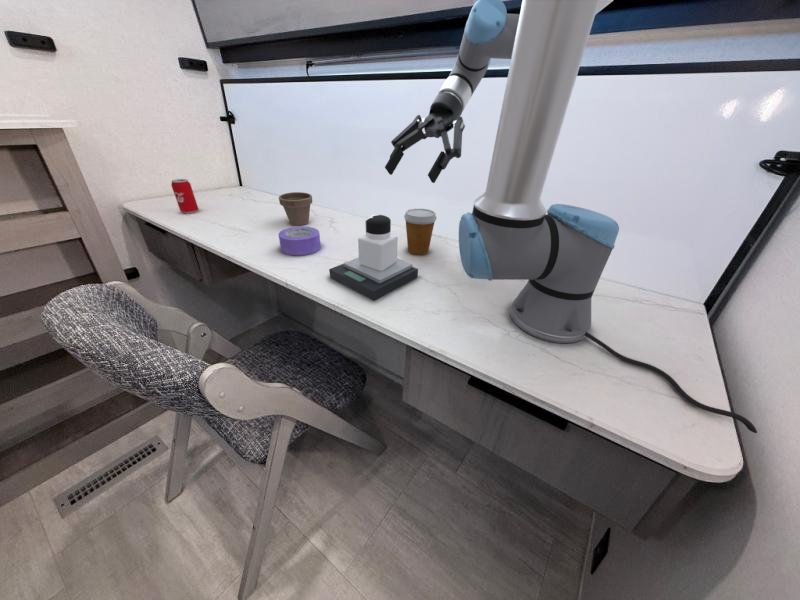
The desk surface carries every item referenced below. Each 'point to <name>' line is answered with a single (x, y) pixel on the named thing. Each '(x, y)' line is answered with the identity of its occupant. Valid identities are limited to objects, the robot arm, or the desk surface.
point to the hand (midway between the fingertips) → (408, 175)
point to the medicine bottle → (378, 243)
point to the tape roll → (299, 240)
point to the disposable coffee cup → (419, 230)
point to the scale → (373, 277)
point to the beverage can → (184, 195)
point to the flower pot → (296, 207)
